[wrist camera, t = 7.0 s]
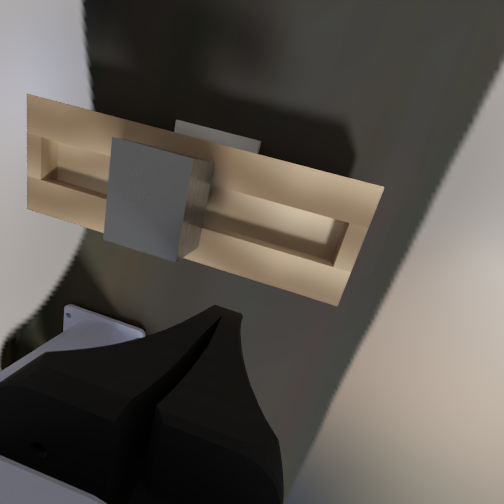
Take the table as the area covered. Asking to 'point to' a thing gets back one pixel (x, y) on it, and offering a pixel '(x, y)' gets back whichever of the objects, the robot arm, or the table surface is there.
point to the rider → (156, 199)
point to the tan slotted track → (211, 197)
